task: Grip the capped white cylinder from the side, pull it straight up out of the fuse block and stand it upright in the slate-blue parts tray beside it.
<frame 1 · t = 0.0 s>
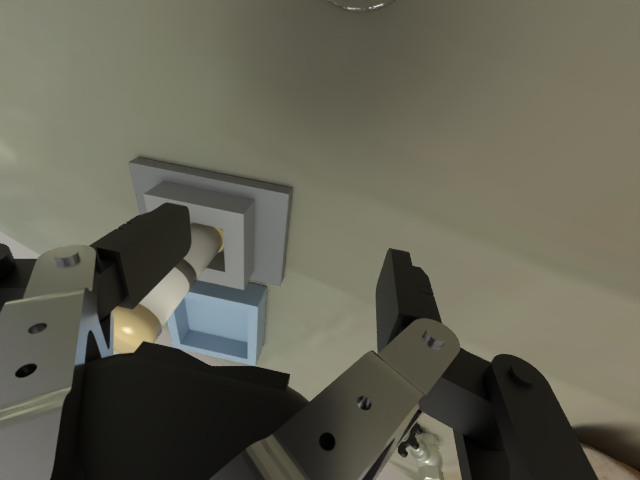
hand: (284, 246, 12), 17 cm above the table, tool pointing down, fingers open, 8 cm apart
valve: (415, 424, 51), on the table
parts tray: (222, 308, 41), on the table
fuse block: (217, 223, 33), on the table
capped white cylinder: (211, 230, 32), point 1 cm above the table, touching fuse block
pipe: (579, 474, 51), on the table
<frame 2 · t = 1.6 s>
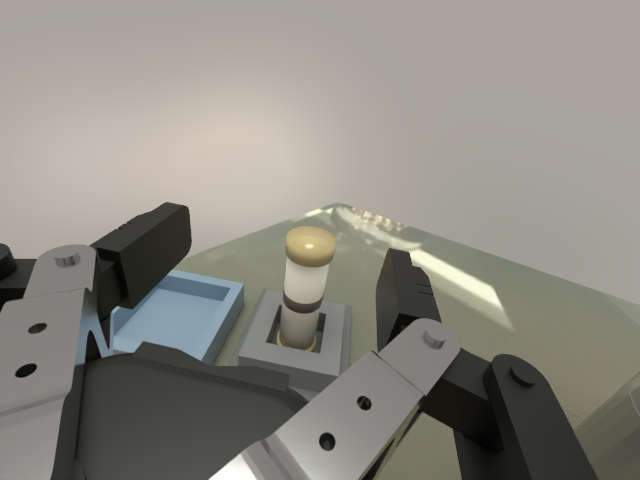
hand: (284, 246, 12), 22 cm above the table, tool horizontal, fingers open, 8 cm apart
parts tray: (174, 329, 34), on the table
fuse block: (294, 354, 33), on the table
capped white cylinder: (295, 346, 33), point 2 cm above the table, touching fuse block
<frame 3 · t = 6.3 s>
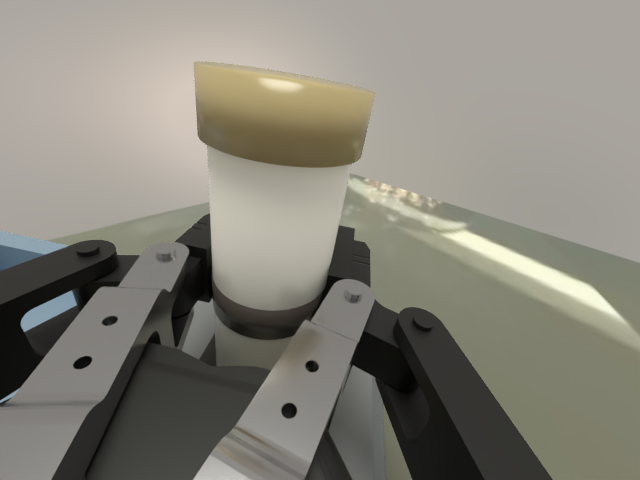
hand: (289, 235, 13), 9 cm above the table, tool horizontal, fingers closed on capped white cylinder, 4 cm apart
parts tray: (0, 362, 16), on the table
fuse block: (258, 423, 15), on the table
capped white cylinder: (260, 406, 14), point 2 cm above the table, touching fuse block, gripper
when the fingers open (10 cm above the table, at t = 12.3 s): capped white cylinder drops 1 cm, resting on parts tray.
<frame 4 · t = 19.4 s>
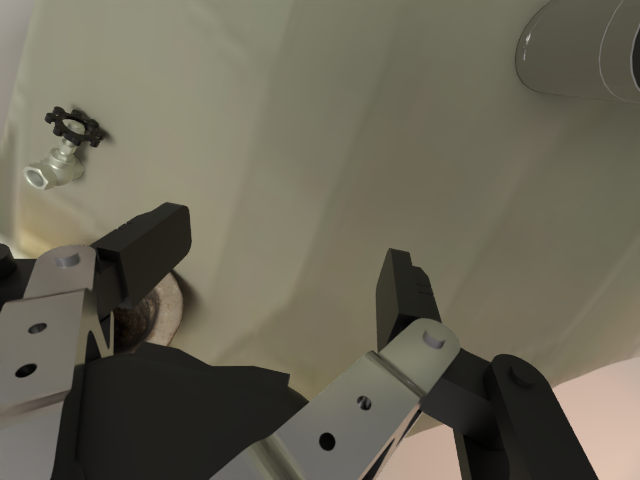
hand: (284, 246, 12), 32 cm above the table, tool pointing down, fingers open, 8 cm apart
valve: (83, 149, 47), on the table
pipe: (125, 300, 63), on the table
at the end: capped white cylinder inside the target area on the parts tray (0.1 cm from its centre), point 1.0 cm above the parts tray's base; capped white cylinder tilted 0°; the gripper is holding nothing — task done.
